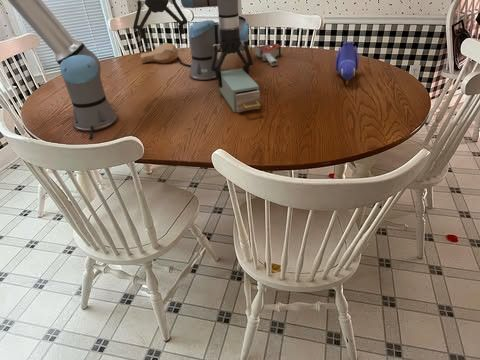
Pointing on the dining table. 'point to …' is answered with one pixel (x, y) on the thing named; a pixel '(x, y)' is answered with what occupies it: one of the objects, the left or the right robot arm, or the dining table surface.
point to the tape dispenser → (269, 53)
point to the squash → (161, 54)
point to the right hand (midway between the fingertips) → (233, 84)
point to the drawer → (248, 100)
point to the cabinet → (235, 85)
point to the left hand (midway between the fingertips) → (164, 45)
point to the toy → (347, 61)
